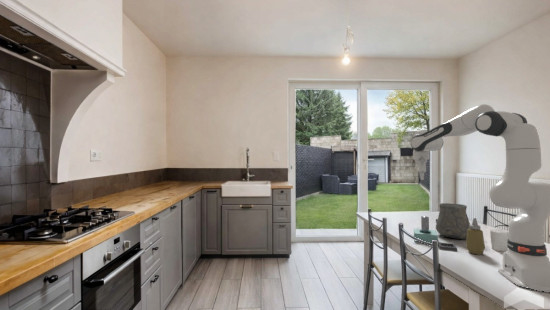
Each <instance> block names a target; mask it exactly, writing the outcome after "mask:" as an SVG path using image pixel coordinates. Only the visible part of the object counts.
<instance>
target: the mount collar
mask: <svg viewBox="0 0 550 310" xmlns="http://www.w3.org/2000/svg"><path fill="white" fill-rule="evenodd" d="M437 245H439V246H438V248H439V250H443V251H444V250H445V251H454V252H457V251H458V248H457V246H456V244H455V243H449V242H440V241H438V244H437Z"/></svg>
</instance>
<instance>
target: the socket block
mask: <svg viewBox="0 0 550 310" xmlns="http://www.w3.org/2000/svg"><path fill="white" fill-rule="evenodd" d="M414 237H416V238H419V239H421V240H423V241H426V242H430V243H432V240H438V241H439V236H438V231H437V230H436V229H435V230H433V229H429V233H421V229H420V228H413V238H414ZM413 240H414V239H413ZM415 242H416V243H418V242H417V241H415V240H414V243H415ZM430 243H429V244H430Z"/></svg>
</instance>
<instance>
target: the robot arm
mask: <svg viewBox="0 0 550 310" xmlns="http://www.w3.org/2000/svg"><path fill="white" fill-rule="evenodd" d="M476 132H479V133H481V134H483V135H487V136H493V137H502V139H504V142H505V169H504V173H503V175H502V176H501V178H500V179H499V180H498V182H496V183H495V184H493V185H492V186H491V188H490V190H489V193H488V194H489V199H490V200H491V202H492V203H493V205H495V206H496V207H500V208H503V209H511V210H512V209H514V210H516V209H517V210H518V209H519V210H520V211H519V213H518V214H517V215H515V216H514V217H512V218H510V220H509V222H508V232H509V239H508V242H507V247H508V250H507V251H506V252H504V251H503V253H502V254H503V255H502V268H499V269H498V270H497V272H498V273H499V274H500V275H502V276H503V277H504V278H506V279H507V280H508V281H510V282H511V283H513V284H514V283H515V284H516V285H515V284H514V285H515V286H517V285H518V286H517V287H519V286H523V287H528V288H531V289H534V290H533V291H536V290H537V292H542V291H544V292H543V293H549V292H550V259H549V257H548V256H547V255H548V252H547V251H548V250H547V247H546V244H545V229H546V228H545V227H546V223H547V220H548V219H549V217H550V183H548V182H547V183H546V182H529V180H530V178H531V176H532V175H533V174H535V173H537V172H538V171H540V169H541V168H542V152H541V151H542V149H541V142H540V141H541V140H540V137H539V133H538V130H537V127H536V126H535V125H533V124H530V123H528V121H527V118H526V117H525V116H524V115H522V114H520V113H516V112H509V111H500V110H497V111H495V109H494V108H493V106H491V105H489V104H485V103H483V104H479V105H477V106H474V107H472V108H469V109H468V110H465V111H464V112H462V113H461V114H458V115H457V116H455V117H454V118H452V119H450V120H448V121H446V122H444V123H442V124H439V125H437V126H435V127H433V128H431V129H429V130H428V131H427V130H426V129H422V130H417V131H415V132H413V134H412V138H411V139H410V147H411V148H412V149H413V151H412V158H413V159H412V160H414V161H415V163H416V169H417V172H418V174H419V175H418V176H419V179H420V180H421V181H424V180H425V173H427V163H428V160H430V152H435V151H439V150H441V149H443V146H444V139H443V138H445V137H462V136H463V137H464V136H468V135H470V134H474V133H476ZM531 289H530V290H531Z"/></svg>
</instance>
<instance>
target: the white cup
mask: <svg viewBox="0 0 550 310" xmlns="http://www.w3.org/2000/svg"><path fill="white" fill-rule="evenodd" d="M489 234H490V235H489V236H490V244H491V249H492V250H494V251H498V252H503V253H504V252H506V251H507V250H508V247H507V242H508V239H509V230H506V229H505V230H504V229H498V228H490V230H489Z"/></svg>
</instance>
